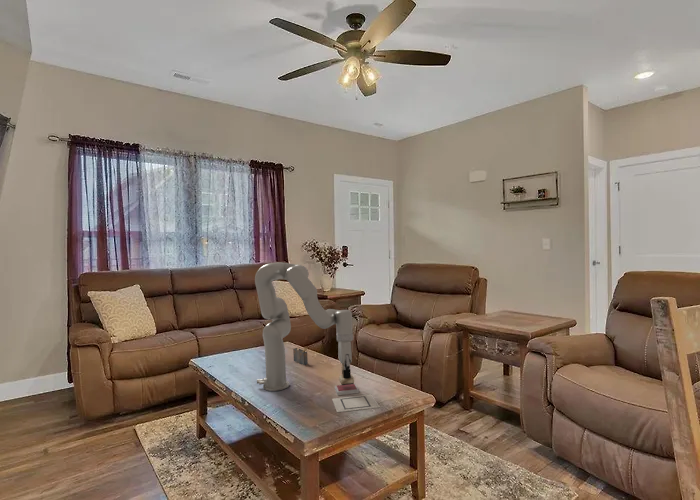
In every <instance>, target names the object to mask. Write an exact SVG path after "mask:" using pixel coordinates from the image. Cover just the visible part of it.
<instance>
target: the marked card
mask: <svg viewBox="0 0 700 500" xmlns="http://www.w3.org/2000/svg"><path fill="white" fill-rule="evenodd" d="M331 400H332V403H333V406H334V408H335V410H336V413H338V414H339V413H344V412H345V413H346V412H353V411H363V410H370V409H371V410H372V409H379V408H380V405H379V404H378V402H377V401H376V399H375V397H374V396H373V393H372V394H364V395H363V394H362V395H353V396H345V397H335V398H331Z"/></svg>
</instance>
